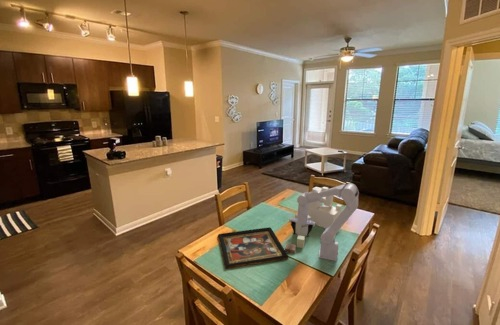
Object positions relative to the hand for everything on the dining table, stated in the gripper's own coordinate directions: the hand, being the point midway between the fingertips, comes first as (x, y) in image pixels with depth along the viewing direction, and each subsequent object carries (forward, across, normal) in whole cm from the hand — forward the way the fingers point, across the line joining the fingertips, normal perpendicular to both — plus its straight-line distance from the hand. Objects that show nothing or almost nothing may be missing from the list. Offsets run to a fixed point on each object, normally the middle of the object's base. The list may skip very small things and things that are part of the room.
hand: (301, 234), depth 144 cm
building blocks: (+8, -10, -33) cm, 35 cm away
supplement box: (+8, +1, -14) cm, 16 cm away
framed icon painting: (+8, +27, +11) cm, 31 cm away
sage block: (+8, 0, 0) cm, 8 cm away
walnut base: (+8, +5, +6) cm, 11 cm away
